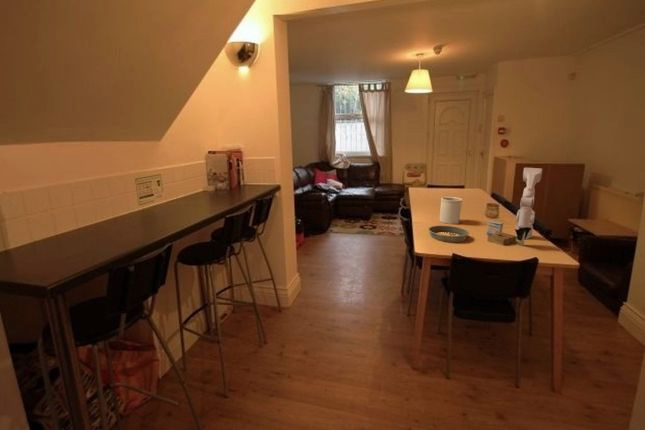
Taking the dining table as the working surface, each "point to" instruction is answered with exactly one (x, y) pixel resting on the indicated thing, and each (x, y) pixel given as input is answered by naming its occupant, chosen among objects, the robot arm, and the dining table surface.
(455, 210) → the utensil holder
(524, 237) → the peg
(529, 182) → the robot arm
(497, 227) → the medicine box
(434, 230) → the cake pan
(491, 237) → the hole block
